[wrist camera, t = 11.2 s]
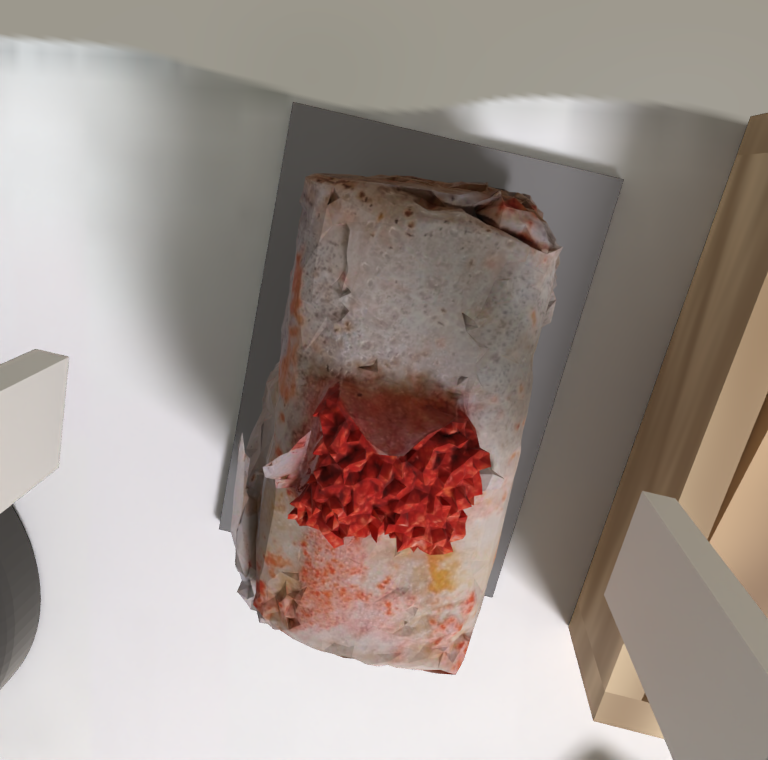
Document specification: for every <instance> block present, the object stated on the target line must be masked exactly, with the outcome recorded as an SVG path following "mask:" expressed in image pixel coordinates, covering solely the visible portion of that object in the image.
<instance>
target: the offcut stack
mask: <svg viewBox="0 0 768 760" xmlns="http://www.w3.org/2000/svg"><path fill="white" fill-rule="evenodd" d="M707 540H708V542H709V543H710V544H711V545H712V547H713V548H714V549H715V551H716V552H717V553H718V555H719V556H720V557H721V558H722V560H723V561H724V562H725V564H726V565H727V566H728V568H729V569H730V570H731V571H732V573H733V574H734V575H735V577H736V578H737V579H738V581H739V582H740V583H741V584H742V586H743V587H744V588H745V590H746V591H747V592H748V594H749V595H750V596H751V597H752V599H753V600H754V601H755V603H756V604H757V605H758V607H759V608H760V609H761V611H762V612H763V613H764V614H765V616H766V617H767V618H768V392H767V395H766V397H765V400H764V402H763V405H762V407H761V409H760V412H759V414H758V417H757V419H756V422H755V424H754V427H753V429H752V431H751V434H750V436H749V439H748V441H747V444H746V446H745V449H744V451H743V453H742V456H741V458H740V461H739V463H738V466H737V468H736V471H735V473H734V476H733V478H732V480H731V483H730V485H729V488H728V490H727V493H726V495H725V498H724V500H723V502H722V505H721V507H720V510H719V512H718V515H717V517H716V520H715V522H714V524H713V527H712V529H711V532H710V534H709V537H708V539H707Z"/></svg>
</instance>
